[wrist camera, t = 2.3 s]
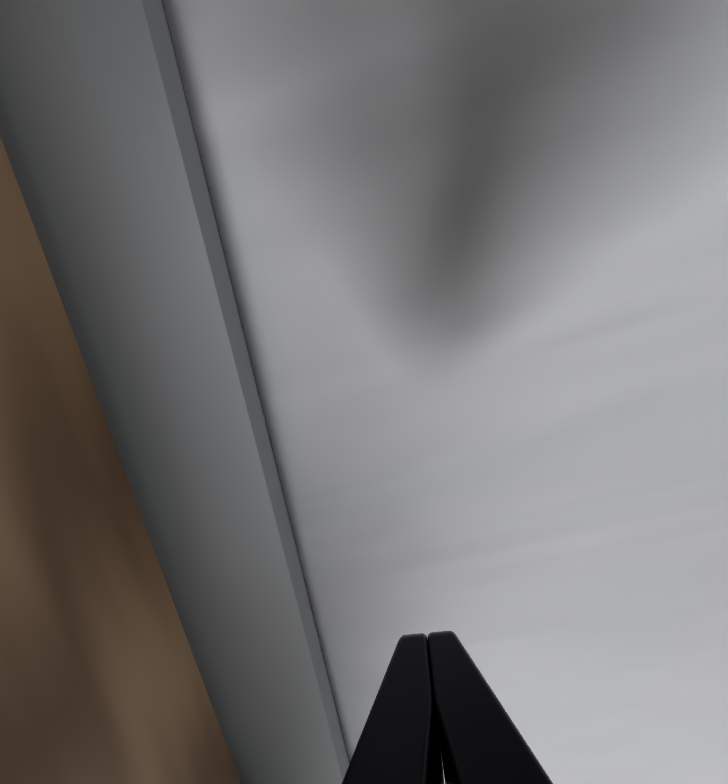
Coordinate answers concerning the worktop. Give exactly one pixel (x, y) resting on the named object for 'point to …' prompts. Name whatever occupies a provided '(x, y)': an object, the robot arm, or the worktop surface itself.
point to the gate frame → (169, 360)
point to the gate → (80, 567)
